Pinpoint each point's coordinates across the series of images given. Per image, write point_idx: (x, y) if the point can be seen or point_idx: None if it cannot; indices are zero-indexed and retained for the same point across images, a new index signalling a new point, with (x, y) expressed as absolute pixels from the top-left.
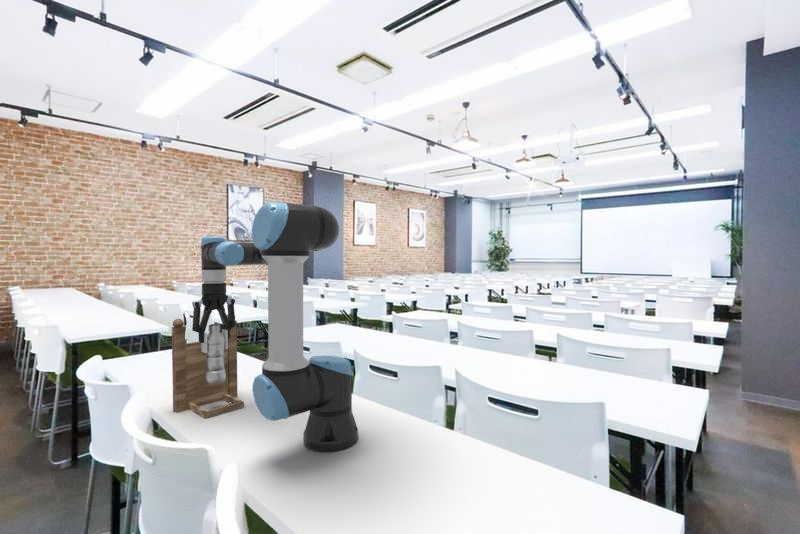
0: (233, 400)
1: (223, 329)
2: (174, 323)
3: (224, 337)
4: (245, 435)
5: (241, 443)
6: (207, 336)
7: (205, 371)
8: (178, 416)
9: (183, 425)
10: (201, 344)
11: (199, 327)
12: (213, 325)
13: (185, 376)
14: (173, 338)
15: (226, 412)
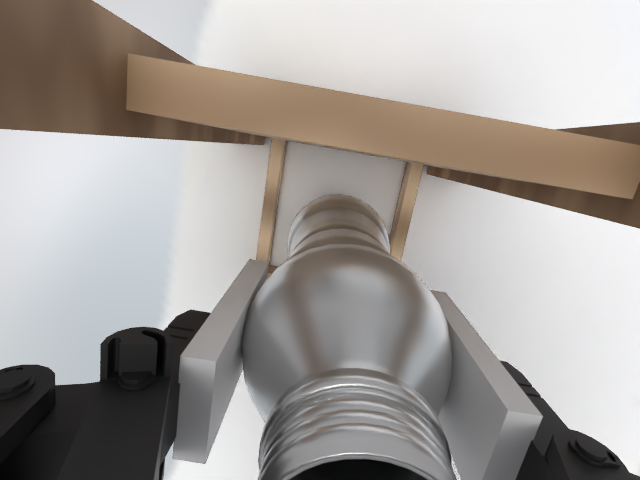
0: (391, 246)
1: (521, 427)
2: None
3: (445, 403)
4: (253, 448)
5: (221, 471)
6: (254, 379)
7: (292, 233)
8: (218, 178)
9: (191, 263)
10: (233, 283)
11: (80, 445)
12: (402, 440)
13: (226, 142)
14: None
15: None
